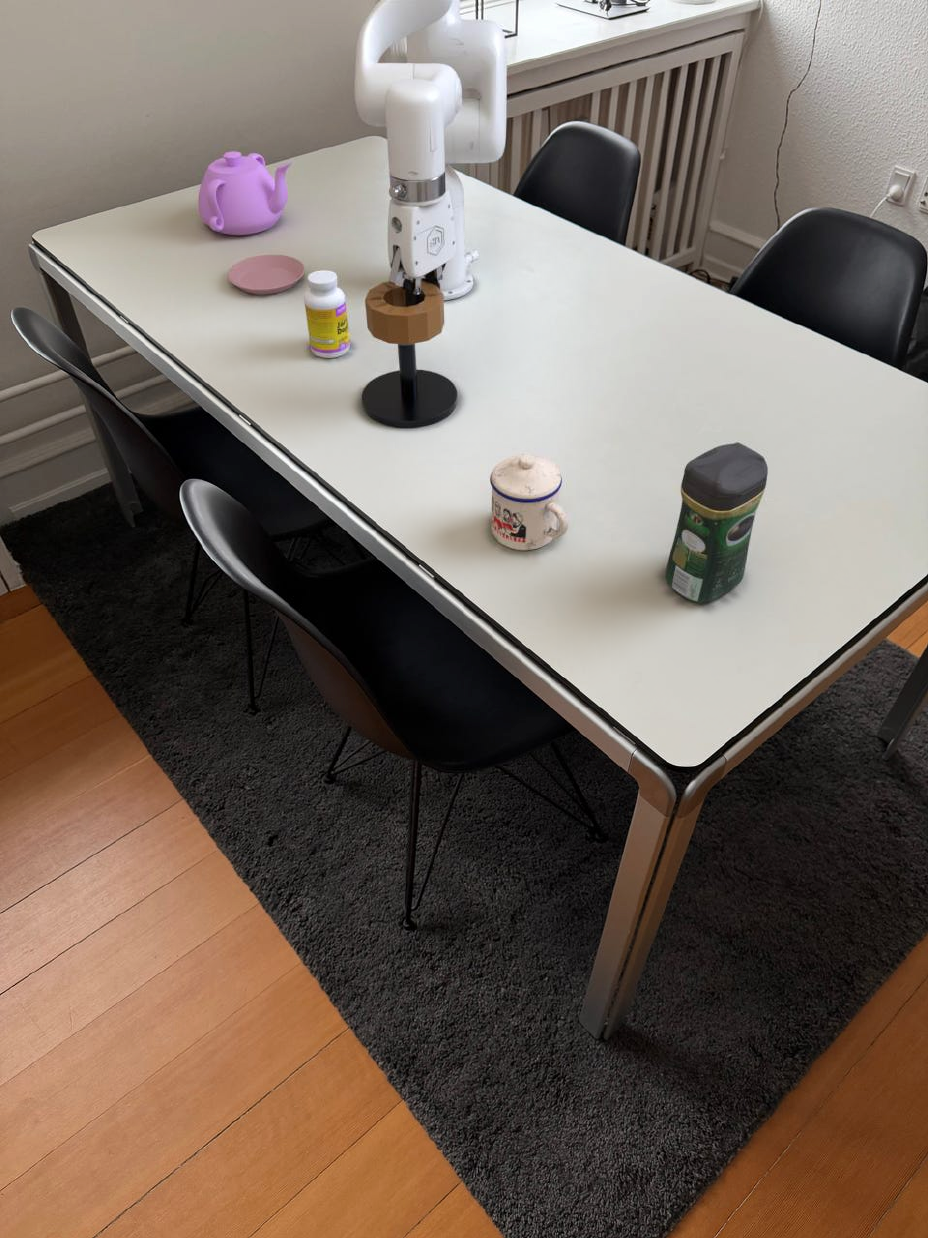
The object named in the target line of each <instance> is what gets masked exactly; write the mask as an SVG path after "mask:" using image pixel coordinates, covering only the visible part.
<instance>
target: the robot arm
mask: <svg viewBox="0 0 928 1238" xmlns="http://www.w3.org/2000/svg"><path fill="white" fill-rule="evenodd" d="M460 3H461V2H460V0H378V2H377V3H376V4H375V6H374V7H373V9H372V10H371V11H370V13H368V16H367V17H366V19H365V21H364V23H363V24H362V26H361V29H360V31H359V33H358V37H357V42H356V49H355V65H354V67H355V68H354V102H355V107H356V110H357V114H358V116H359V118H360V119H361V120H362V122H364V123H365V124H367V125H369V126H372V127H383V128H384V127H385V128H386V141H387V142H386V143H387V159H388V171H389V174H388V175H389V186H390V187H389V189H388V195H389V197H390V198H391V199H390V200H389V202H388V203H389V205H388V215H387V254H388V262H389V268H390V274H389V277H388V282H389V283H390V284H393V285H395V286H399V287H401V288H402V290H405V300H406V307H409V306H414V305H417V304H419V303H421V302H423V301H424V293H422V292H421V280H422V281H425V282H428V283H430V284H433V285H436V286H437V287H438V288H439V289H440V291H441V292H442V293H443V294H444V301H451V300H454V299H458V298H460V297H463V296H465V295H467V294H468V293H470V291H471V290H472V289H473V287H474V277H473V275H472V273H470V272H469V271H468V268H469V266H471V265H470V264H472V263H474V262H476V261H478V260H479V258H480V255H479V254H480V253H479V252H478V251H477V249H472V250H470V251H468V252H467V253H466V254H465V195H464V194H465V192H464V186H463V183H462V180H461V178H460V176H459V175H458V174H457V172H456V170H455V169H454V168H453V167H452V165H451V164H488V163H489V164H490V163H495V162H497V161H499V160H500V159H501V158H502V156H503V154H504V152H505V148H506V143H507V142H506V140H507V100H508V99H507V98H508V97H507V91H508V90H507V89H508V88H507V87H508V84H507V83H508V79H507V78H508V60H507V58H508V57H507V56H508V55H507V54H508V53H507V43H506V38H505V33H504V31H503V29H502V27H501V26H500V24H498V23H497V22H496V21H493V20H490V19H463V18H462V16H461V10H460V8H461V7H460V6H461V5H460ZM404 38H406V56H407V62H379V61H380V59H381V57H382V56H383V54H384V53H385V52H386V51H387V50H388V49H389V48H390V47H391V46H393V45H394V44H395V43H397V42H399V41H400V40H402V39H404ZM463 89H467V90H469V89H470V90H475V92H477V93H478V94H479V98H475V97H474V98H471V97H469V98H468V97H467V98H463ZM411 280H413V282H412V281H411Z"/></svg>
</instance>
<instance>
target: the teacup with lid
mask: <svg viewBox="0 0 928 1238" xmlns="http://www.w3.org/2000/svg"><path fill="white" fill-rule="evenodd" d="M489 482H490V485H491V533H492V535H493V537H494V538H495V540H496V541H497V542H498V543H500V544H501V545H503V546H504V547H506V548H509V549H511V550H517V551H518V550H519V551H532V550H537V549H541V548H542V547H544V546H546V545H548V544H549V543H551V541H552V540H553V539H559V538H561V537H563V536H564V535H565V534H566V533H567V531H568V529H569V518H568V516H567V513H566V512H565V510H564V509H563V508H562V507H561V506H560V505H559V501H560V499H559V498H560V489H561V487H562V483H563V478H562V474H561V472H560V470H559V468H558V466H556V465H555V464H554V463H553V462H552V461H550V460H548V459H546V458H544V457H541V456H537V455H532V454H519V455H512V456H509V457H507V458H505V459H503V460H501V461H499V462H498V463H497V464H496V465H495V466H494V468H493V469H492V471H491V474H490V476H489ZM557 523H558V524H559V525H557ZM557 526H559V527H558V530H557Z"/></svg>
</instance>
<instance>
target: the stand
mask: <svg viewBox="0 0 928 1238" xmlns="http://www.w3.org/2000/svg"><path fill="white" fill-rule="evenodd" d="M397 355H398V368H399V370H394V371H390V372H387V373H384V374H381V375H379V376H377V377H374V378H373V379H372V380H370V382H368V383H367V384H366V385H365V387H364V388H363V389H362V392H361V397H360V398H361V406H362V409H363V411H364V413H365V414H366V415H367V416H368V417H369V418H370V419H371V420H373V421H375V422H376V423H378V424H381V425H384V426H387V427H392V428H400V429H416V428H424V427H428V426H431V425H434V424H437V423H439V422H441V421H443V420H445V419H446V418H448V417H449V416H450V415H451V414H452V413H453V412H454V411H455V409H456V408H457V405H458V400H459V399H458V390H457V387H456V385H455V384H454V383H453V381H451V380H450V379H449V378H448V377H446V376H444V375H443V374H440V373H437V372H434V371H430V370H426V369H417V353H416V343H415V344H410V345H405V344H397Z"/></svg>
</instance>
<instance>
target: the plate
mask: <svg viewBox="0 0 928 1238" xmlns="http://www.w3.org/2000/svg"><path fill="white" fill-rule="evenodd" d="M227 271H228V272H227V279H228V281H229V282H230V283H231V284H232V285H234V286H236V287H237V288H239V289H240V290H242V291H243V292H245V293H249V294H252V295H259V296H260V295H264V296H265V295H266V296H267V295H275V294H279V293H282V292H285V291H287V290H289V289H291V288H293V286H295V284H297V282H298V281H299V280H300V279H301V278H302V277H303V276H304V274H305V271H306V268H305V265H304V263H303V262H302V261H301V260H299V259H297V258H295V257H292V256H289V255H283V254H261V255H255V256H251V257H248V258H245V259H242V260H240V261H238V262H236V263H235V264H233V265H232V266H231V267H230V268H229V270H227Z"/></svg>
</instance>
